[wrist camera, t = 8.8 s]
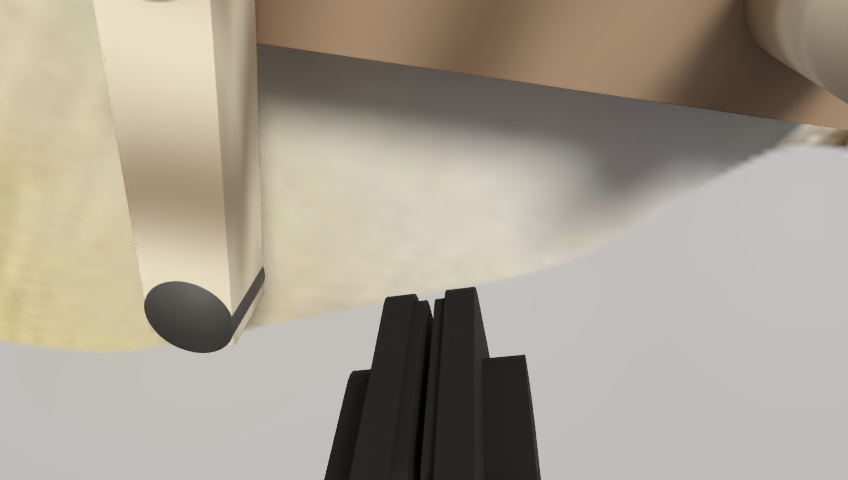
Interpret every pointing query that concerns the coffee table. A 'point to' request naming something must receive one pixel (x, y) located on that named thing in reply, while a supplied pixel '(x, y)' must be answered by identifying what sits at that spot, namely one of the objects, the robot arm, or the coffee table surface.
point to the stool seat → (601, 46)
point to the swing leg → (189, 160)
